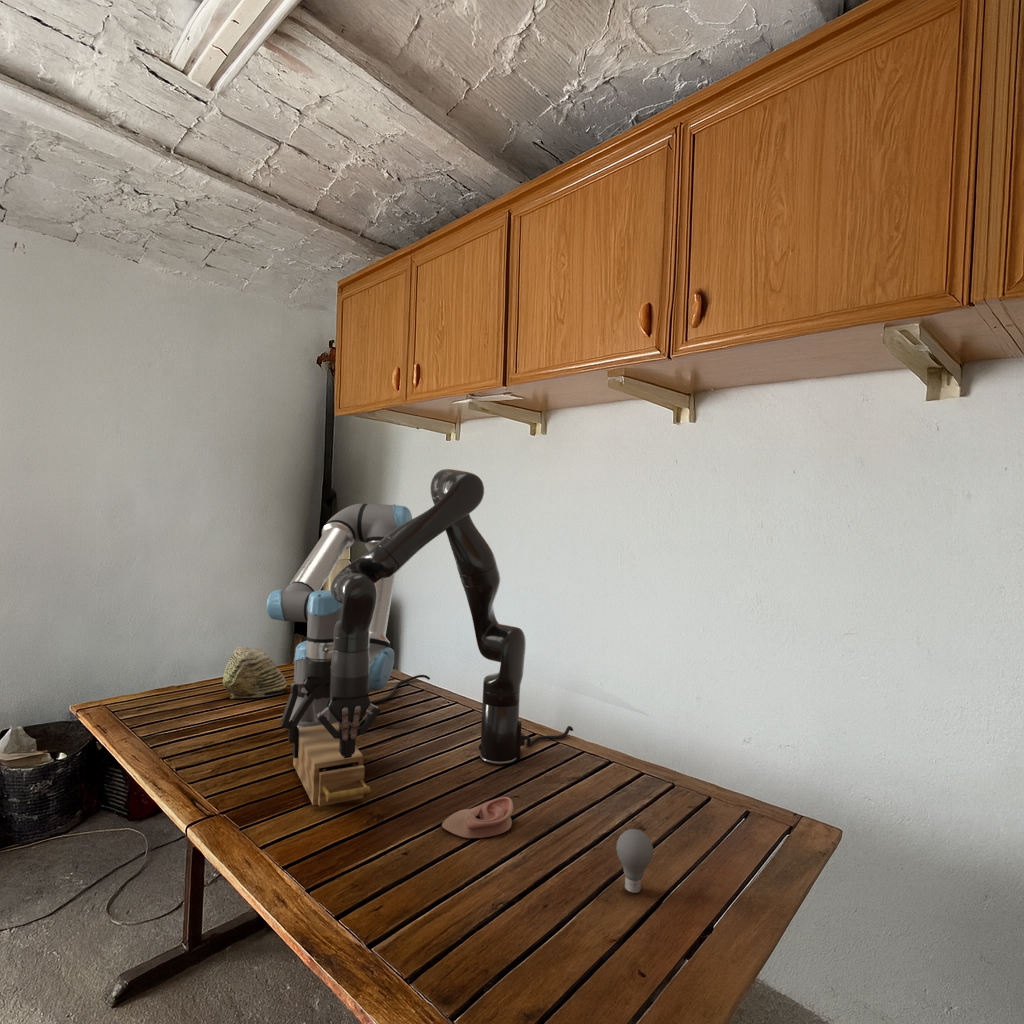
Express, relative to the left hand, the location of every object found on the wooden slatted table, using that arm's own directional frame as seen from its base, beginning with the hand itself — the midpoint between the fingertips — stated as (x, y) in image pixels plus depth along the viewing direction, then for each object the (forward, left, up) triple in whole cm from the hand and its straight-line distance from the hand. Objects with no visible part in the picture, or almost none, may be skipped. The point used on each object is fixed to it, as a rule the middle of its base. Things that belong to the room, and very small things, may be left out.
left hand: (319, 752), depth 148 cm
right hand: (+9, +22, +8) cm, 25 cm away
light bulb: (-8, +77, -4) cm, 78 cm away
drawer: (+5, +13, -3) cm, 14 cm away
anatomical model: (-6, +44, -4) cm, 45 cm away
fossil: (-17, -59, -4) cm, 62 cm away
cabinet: (+3, +6, -4) cm, 8 cm away
